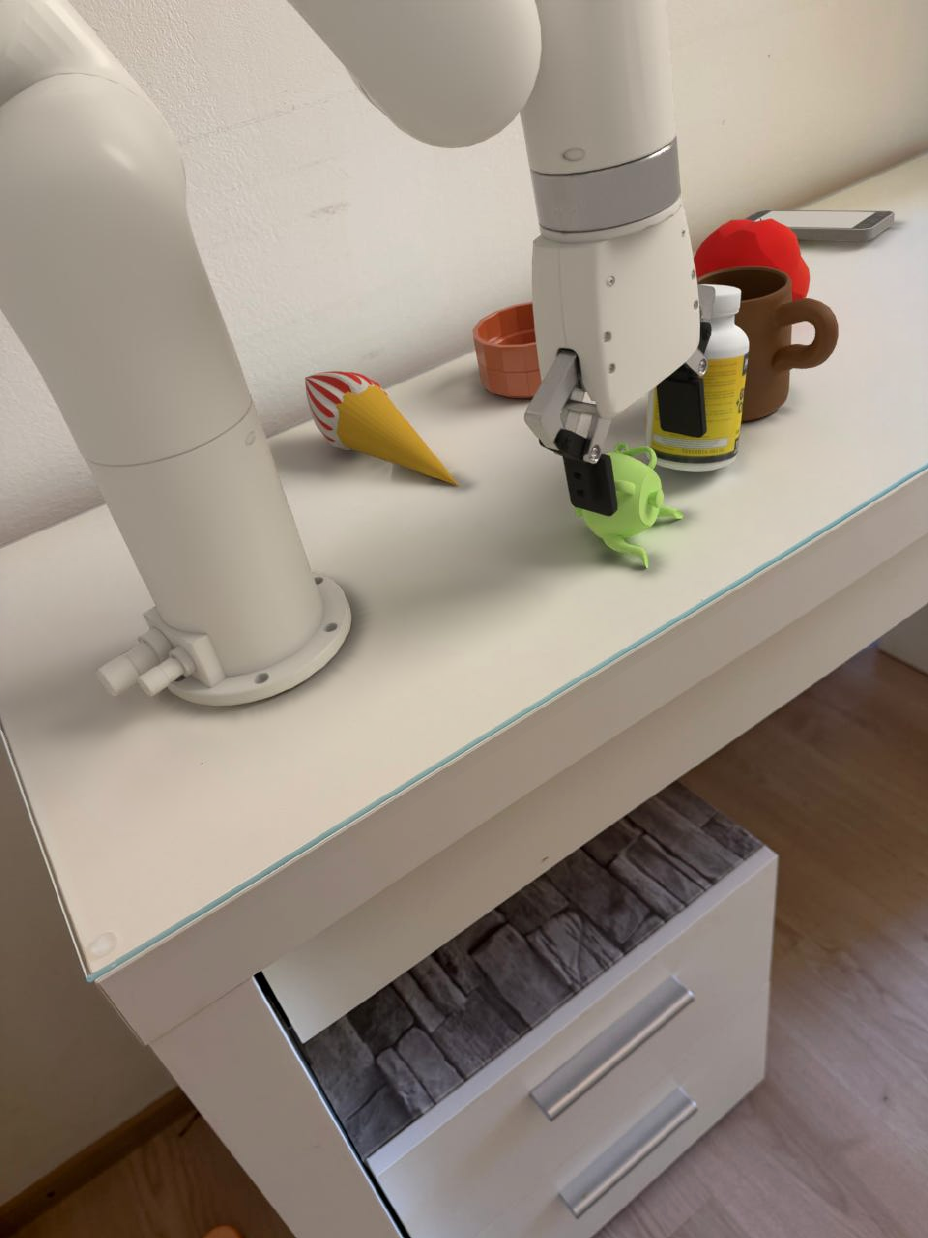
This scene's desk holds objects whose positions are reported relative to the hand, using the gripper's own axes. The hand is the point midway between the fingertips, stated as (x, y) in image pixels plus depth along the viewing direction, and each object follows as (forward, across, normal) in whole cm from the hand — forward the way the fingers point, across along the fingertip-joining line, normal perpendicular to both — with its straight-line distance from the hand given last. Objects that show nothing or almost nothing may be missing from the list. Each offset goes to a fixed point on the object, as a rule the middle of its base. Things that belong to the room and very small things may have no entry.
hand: (640, 469), depth 59 cm
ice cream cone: (+4, +1, -26) cm, 26 cm away
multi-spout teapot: (+5, +1, -1) cm, 5 cm away
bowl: (+5, -16, -23) cm, 28 cm away
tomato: (+2, -27, -11) cm, 29 cm away
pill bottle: (+4, -8, -2) cm, 9 cm away
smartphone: (+5, -55, -9) cm, 56 cm away
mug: (+6, -18, -2) cm, 19 cm away
